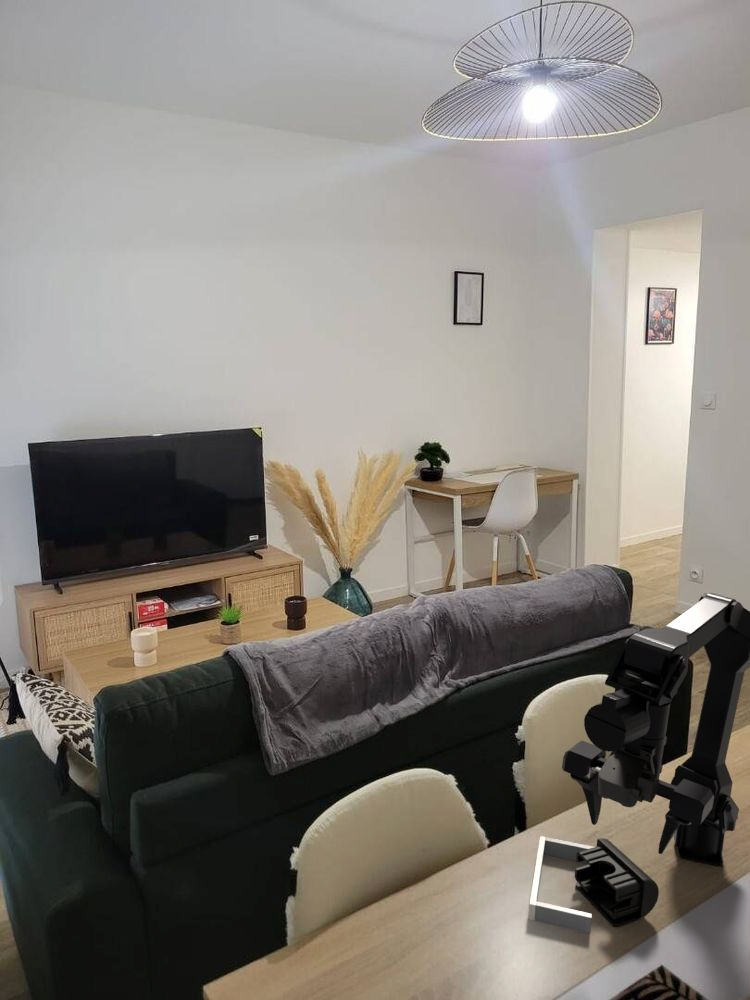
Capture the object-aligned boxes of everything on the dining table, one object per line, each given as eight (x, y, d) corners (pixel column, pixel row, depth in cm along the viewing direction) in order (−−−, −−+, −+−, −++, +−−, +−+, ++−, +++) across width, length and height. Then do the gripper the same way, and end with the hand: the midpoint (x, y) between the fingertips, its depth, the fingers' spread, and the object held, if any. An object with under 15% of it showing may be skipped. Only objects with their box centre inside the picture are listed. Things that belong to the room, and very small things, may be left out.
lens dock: (593, 861, 120) (594, 847, 120) (590, 933, 106) (591, 917, 105) (539, 849, 123) (540, 835, 122) (528, 919, 108) (529, 903, 108)
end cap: (657, 917, 109) (661, 875, 108) (616, 931, 106) (621, 888, 105) (609, 872, 118) (613, 833, 117) (571, 884, 115) (575, 844, 114)
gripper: (551, 724, 102) (537, 832, 104) (697, 778, 91) (678, 898, 93) (585, 700, 111) (572, 801, 113) (723, 747, 99) (704, 858, 102)
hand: (626, 837), depth 105 cm, fingers open, 9 cm apart
